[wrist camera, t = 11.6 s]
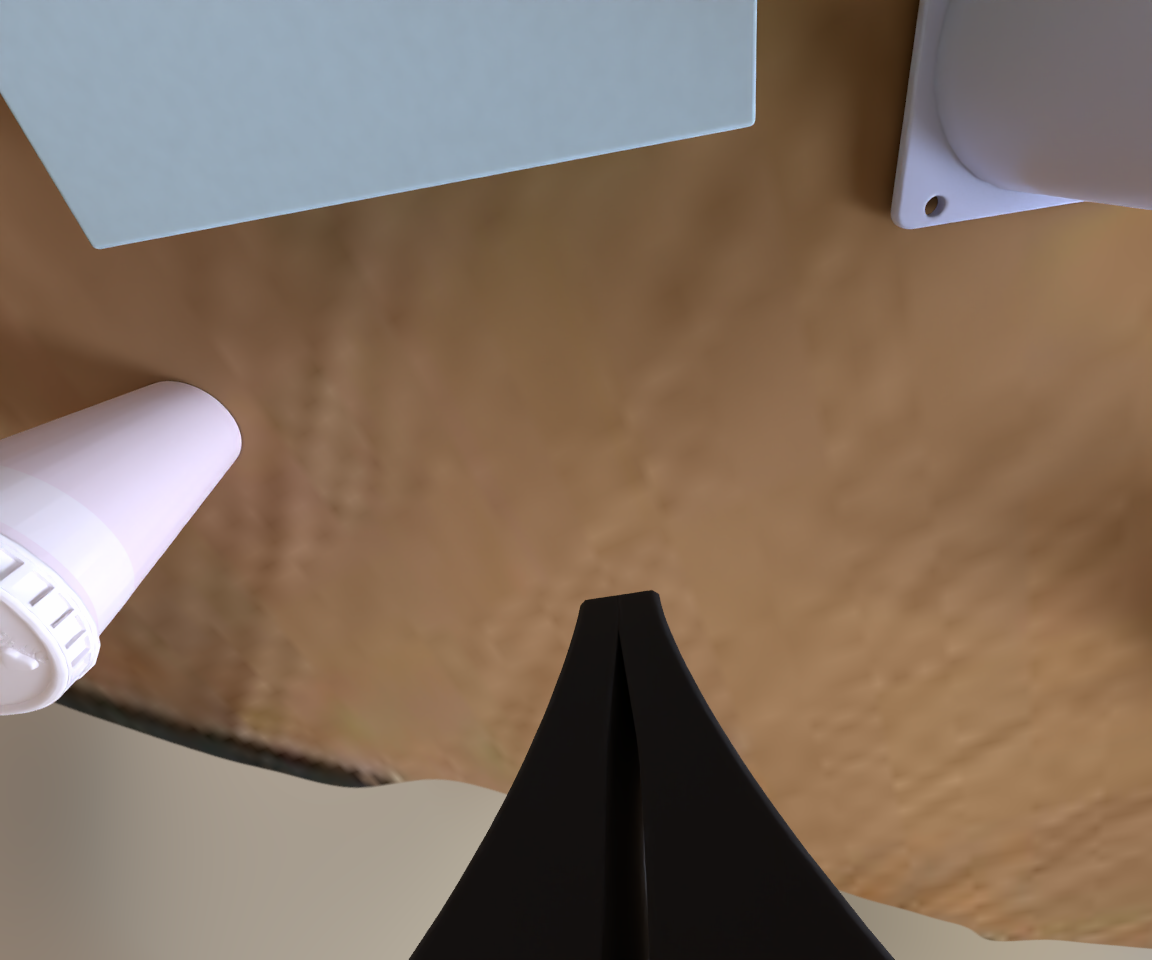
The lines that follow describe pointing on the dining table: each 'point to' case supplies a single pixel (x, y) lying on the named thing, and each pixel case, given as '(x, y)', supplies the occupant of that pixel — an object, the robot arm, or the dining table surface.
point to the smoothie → (95, 524)
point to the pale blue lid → (350, 96)
